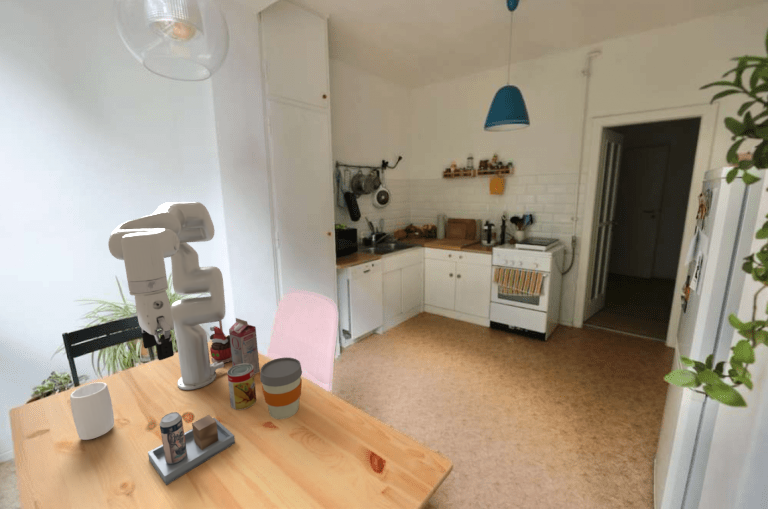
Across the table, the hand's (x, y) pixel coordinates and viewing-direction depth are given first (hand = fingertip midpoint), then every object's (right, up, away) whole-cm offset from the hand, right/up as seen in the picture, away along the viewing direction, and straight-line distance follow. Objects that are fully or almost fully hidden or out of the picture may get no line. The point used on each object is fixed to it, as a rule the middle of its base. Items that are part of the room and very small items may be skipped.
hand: (158, 351), depth 81 cm
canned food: (+9, -25, +29) cm, 39 cm away
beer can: (+1, -29, +5) cm, 30 cm away
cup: (-28, -28, +15) cm, 43 cm away
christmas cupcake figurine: (-11, -20, +57) cm, 62 cm away
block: (+6, -28, +10) cm, 30 cm away
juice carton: (+3, -22, +46) cm, 51 cm away
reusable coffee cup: (+23, -26, +25) cm, 43 cm away
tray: (+4, -29, +8) cm, 31 cm away
